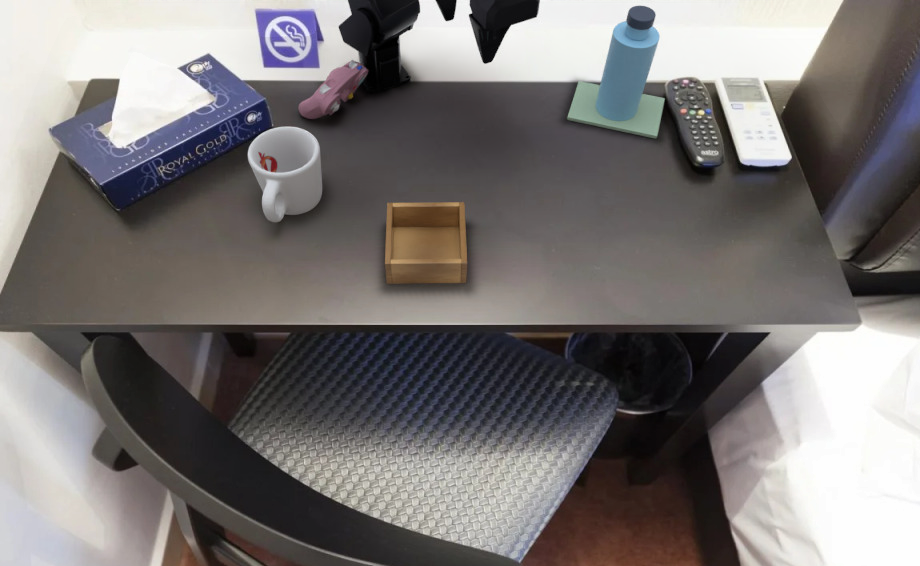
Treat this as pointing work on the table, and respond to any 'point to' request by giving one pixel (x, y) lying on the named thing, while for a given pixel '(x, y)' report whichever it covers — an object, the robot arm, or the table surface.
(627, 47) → the bottle
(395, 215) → the open wooden box
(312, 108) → the pink toy car
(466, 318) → the table surface
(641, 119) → the mat
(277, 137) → the cup
